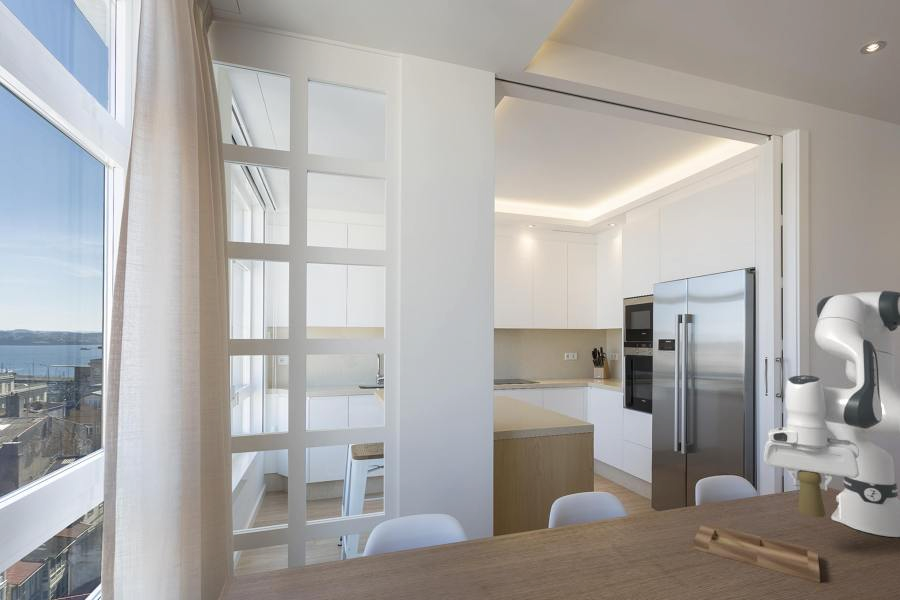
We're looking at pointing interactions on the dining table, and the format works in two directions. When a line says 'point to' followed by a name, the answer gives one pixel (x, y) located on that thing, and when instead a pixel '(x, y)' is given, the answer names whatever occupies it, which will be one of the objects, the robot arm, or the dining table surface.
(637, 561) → the dining table surface
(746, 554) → the keyhole board
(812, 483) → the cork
